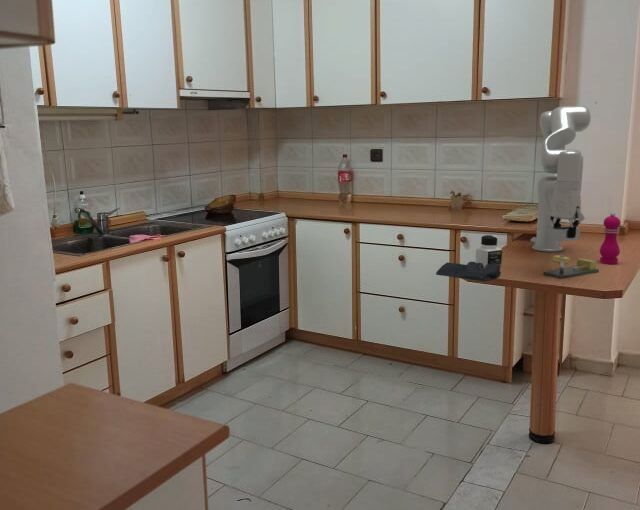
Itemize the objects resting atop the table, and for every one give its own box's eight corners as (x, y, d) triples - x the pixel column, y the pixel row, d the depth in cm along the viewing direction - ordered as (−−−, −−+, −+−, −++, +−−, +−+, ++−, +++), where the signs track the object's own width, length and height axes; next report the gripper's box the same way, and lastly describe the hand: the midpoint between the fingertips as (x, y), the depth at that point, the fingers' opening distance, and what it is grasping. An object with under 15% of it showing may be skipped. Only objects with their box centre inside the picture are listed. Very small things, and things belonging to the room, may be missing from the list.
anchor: (552, 261, 256) (553, 254, 256) (558, 260, 258) (558, 253, 257) (564, 263, 251) (565, 257, 251) (570, 263, 253) (570, 256, 252)
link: (548, 239, 231) (549, 228, 231) (565, 236, 236) (566, 226, 235) (561, 241, 226) (562, 230, 225) (579, 239, 230) (580, 228, 230)
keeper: (543, 274, 235) (543, 260, 234) (580, 267, 244) (581, 255, 243) (560, 278, 228) (561, 264, 227) (598, 272, 237) (599, 258, 236)
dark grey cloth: (448, 268, 248) (448, 256, 247) (504, 274, 237) (505, 262, 236) (432, 275, 236) (432, 263, 235) (490, 283, 224) (491, 270, 223)
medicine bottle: (487, 269, 244) (488, 238, 241) (474, 265, 250) (476, 235, 247) (501, 267, 247) (503, 236, 244) (488, 263, 253) (490, 233, 251)
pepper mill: (620, 264, 249) (625, 213, 245) (600, 264, 250) (605, 213, 246) (616, 260, 256) (620, 211, 251) (596, 260, 257) (600, 210, 253)
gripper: (541, 184, 233) (538, 233, 236) (580, 188, 218) (576, 241, 222) (555, 183, 236) (552, 232, 240) (595, 187, 221) (591, 239, 225)
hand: (564, 235), depth 231 cm, fingers closed on link, 6 cm apart
